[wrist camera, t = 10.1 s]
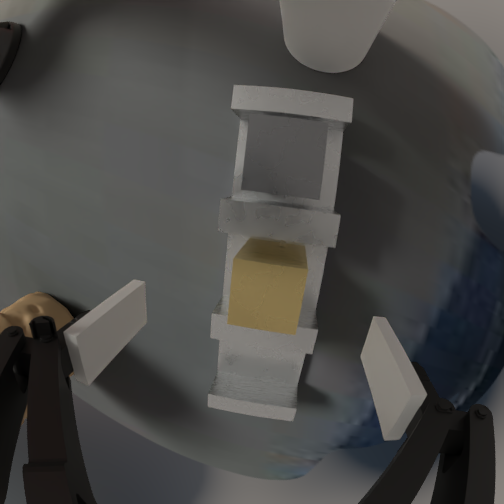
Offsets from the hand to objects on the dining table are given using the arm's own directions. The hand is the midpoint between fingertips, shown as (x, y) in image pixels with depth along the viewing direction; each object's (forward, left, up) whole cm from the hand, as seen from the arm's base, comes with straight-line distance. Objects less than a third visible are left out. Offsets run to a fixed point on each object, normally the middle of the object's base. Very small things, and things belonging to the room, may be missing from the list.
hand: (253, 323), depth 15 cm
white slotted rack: (0, 0, -12) cm, 12 cm away
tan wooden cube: (0, 0, -11) cm, 11 cm away
